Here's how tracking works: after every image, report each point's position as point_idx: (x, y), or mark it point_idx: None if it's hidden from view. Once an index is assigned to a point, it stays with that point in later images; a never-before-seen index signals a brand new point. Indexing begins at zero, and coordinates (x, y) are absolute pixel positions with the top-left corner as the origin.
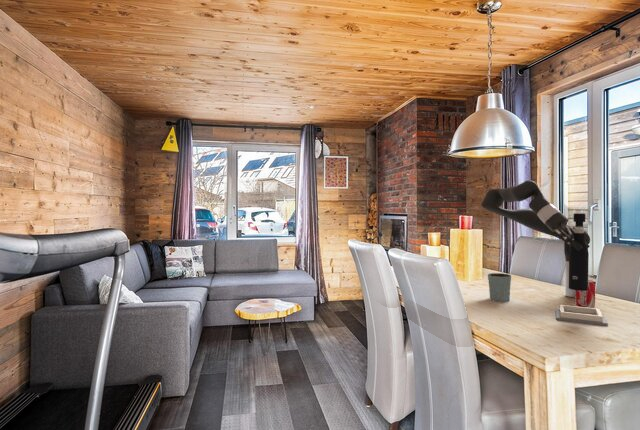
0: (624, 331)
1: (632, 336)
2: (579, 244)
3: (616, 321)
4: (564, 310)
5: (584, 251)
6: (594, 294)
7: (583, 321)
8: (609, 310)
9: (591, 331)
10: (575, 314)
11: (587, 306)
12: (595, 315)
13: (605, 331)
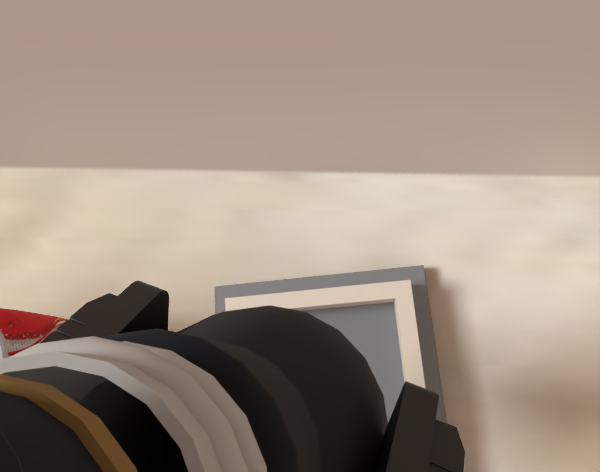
0: (474, 207)
1: (541, 182)
2: (420, 436)
3: (301, 234)
4: None
5: (354, 352)
6: (45, 315)
7: (437, 366)
8: (81, 261)
9: (578, 330)
10: None
11: None
12: (406, 311)
13: (531, 275)
